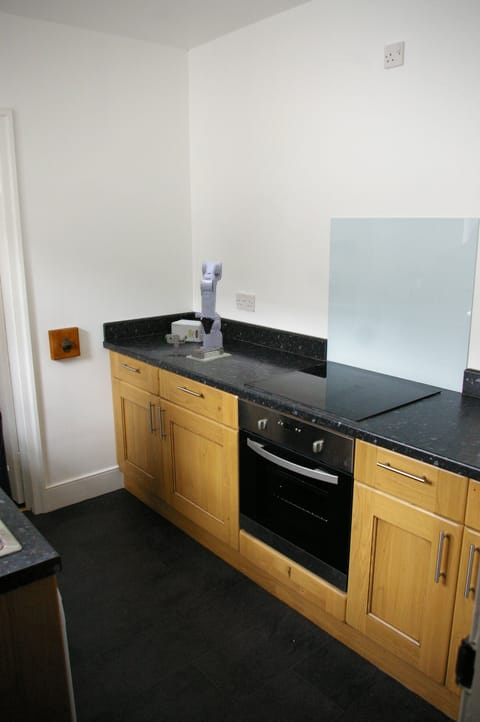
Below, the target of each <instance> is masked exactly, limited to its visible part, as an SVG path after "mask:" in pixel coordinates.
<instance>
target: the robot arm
mask: <svg viewBox="0 0 480 722" xmlns="http://www.w3.org/2000/svg"><path fill="white" fill-rule="evenodd" d="M201 272H202V273H201V274H202V280H200V283H199V287H200V296H201V312H195V315H194V316H195V318H200V320H199V321H200V328H201V330H203V341H202V345H203V346H200V347H199V349H204V348H208V347H213V346H219V347H222V349H224V346H223V334H222V332H221V324H222V323H221V314H219V313H218V312H217V311H216V304H217V285H218V282H219V281H221V279H222V277H223V276H222V275H223V263H222V261H202V263H201Z"/></svg>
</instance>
